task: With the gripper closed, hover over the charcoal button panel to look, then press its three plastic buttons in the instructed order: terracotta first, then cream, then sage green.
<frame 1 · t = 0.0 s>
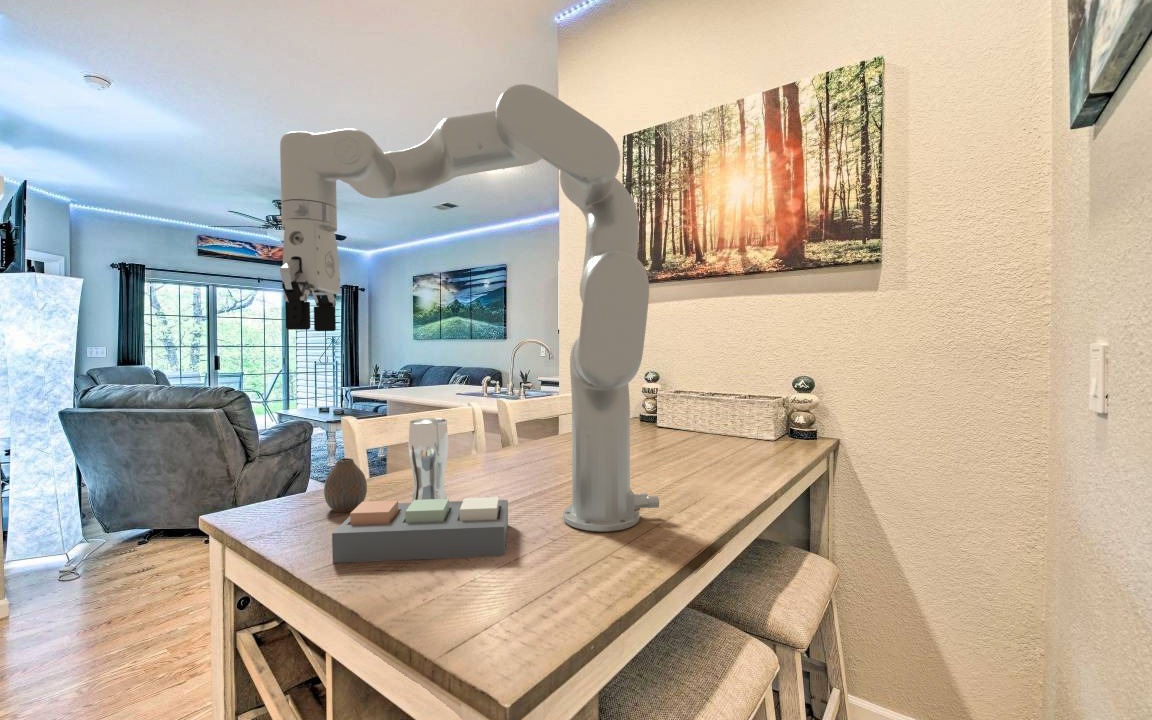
hand: (312, 330, 79), 31 cm above the table, fingers open, 9 cm apart
beer glass: (429, 503, 93), on the table
terracotta button: (375, 520, 74), point 4 cm above the table, slide at 0.0 cm
vase: (346, 509, 90), on the table
cream button: (480, 516, 75), point 4 cm above the table, slide at 0.0 cm
sage button: (428, 518, 74), point 4 cm above the table, slide at 0.0 cm
button panel: (428, 541, 74), on the table
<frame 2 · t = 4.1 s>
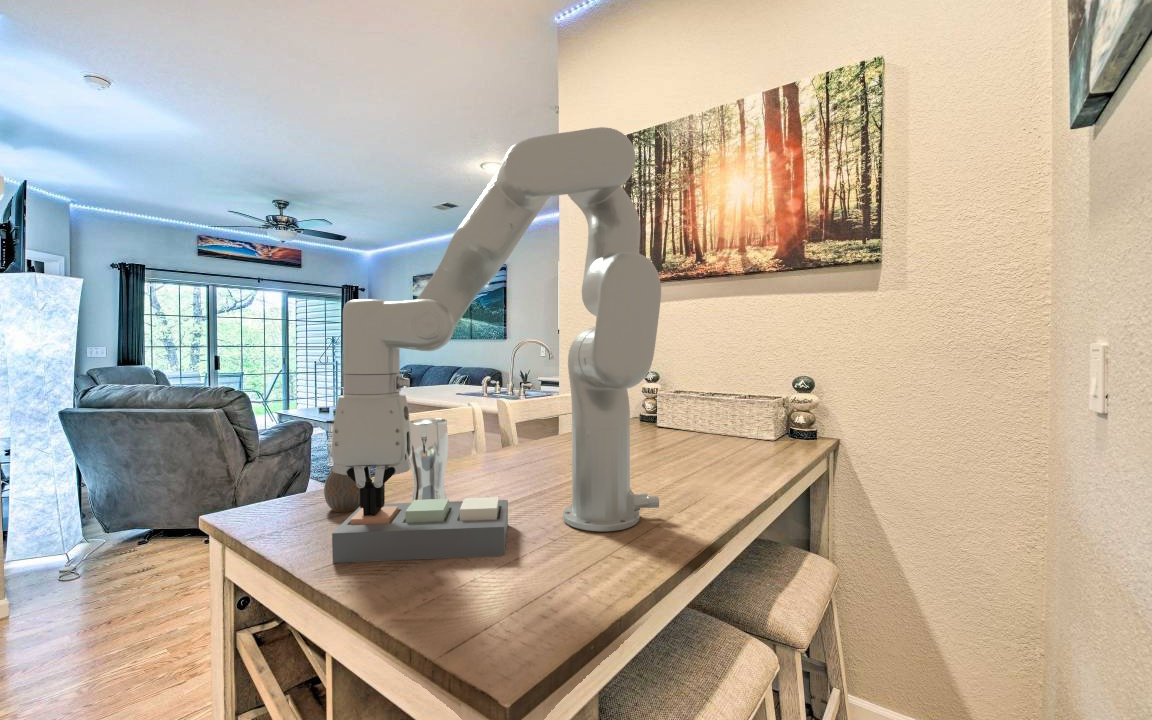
hand: (372, 512, 74), 5 cm above the table, fingers closed
terracotta button: (375, 526, 74), point 3 cm above the table, slide at 0.9 cm
everything else where it was.
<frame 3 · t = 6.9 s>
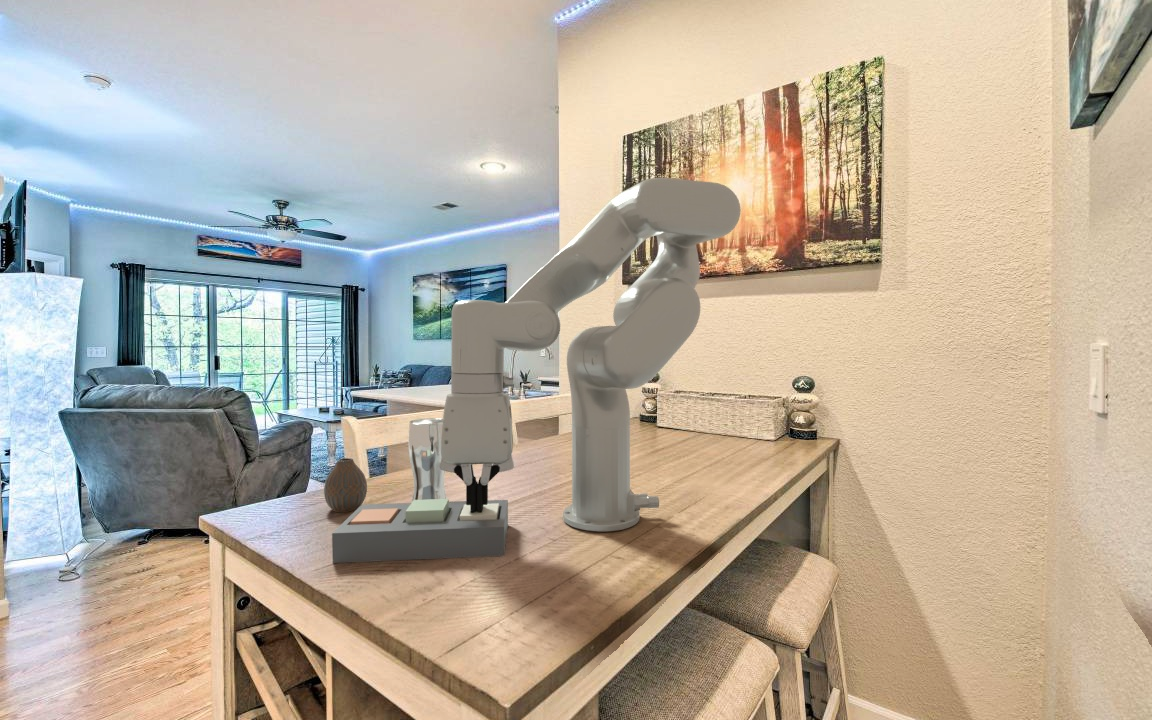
hand: (477, 509, 75), 5 cm above the table, fingers closed
terracotta button: (375, 528, 74), point 2 cm above the table, slide at 1.2 cm
cream button: (480, 522, 75), point 3 cm above the table, slide at 1.0 cm, touching gripper
everything else where it was.
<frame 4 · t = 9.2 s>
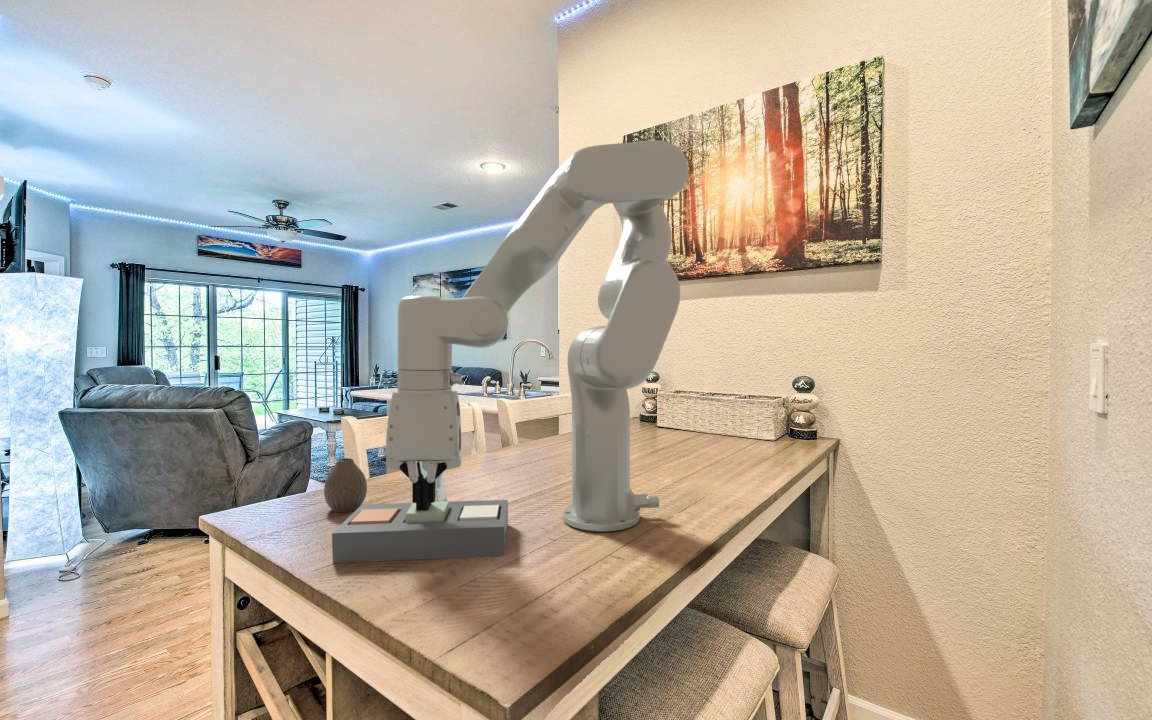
hand: (423, 507, 74), 5 cm above the table, fingers closed
cream button: (480, 524, 75), point 2 cm above the table, slide at 1.2 cm
sage button: (428, 520, 74), point 3 cm above the table, slide at 0.4 cm, touching gripper
everything else where it was.
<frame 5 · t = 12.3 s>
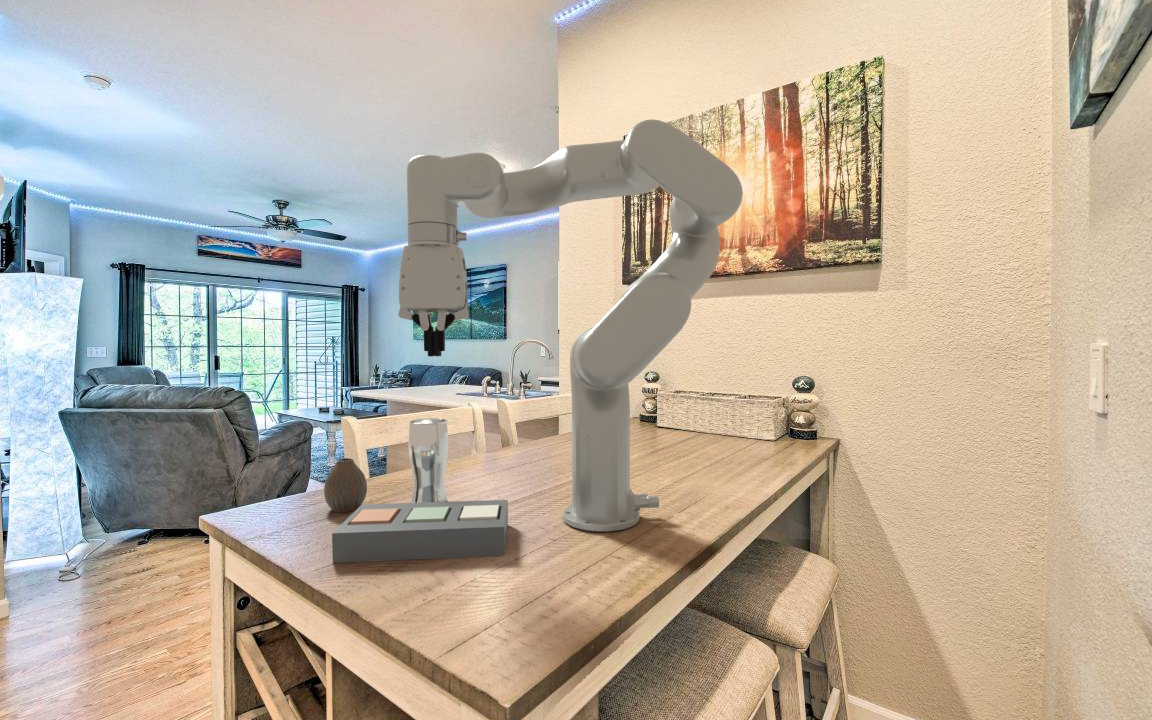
hand: (434, 355, 81), 27 cm above the table, fingers closed
sage button: (428, 526, 74), point 2 cm above the table, slide at 1.2 cm
everything else where it was.
at the end: terracotta button slide at 1.2 cm; cream button slide at 1.2 cm; sage button slide at 1.2 cm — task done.
